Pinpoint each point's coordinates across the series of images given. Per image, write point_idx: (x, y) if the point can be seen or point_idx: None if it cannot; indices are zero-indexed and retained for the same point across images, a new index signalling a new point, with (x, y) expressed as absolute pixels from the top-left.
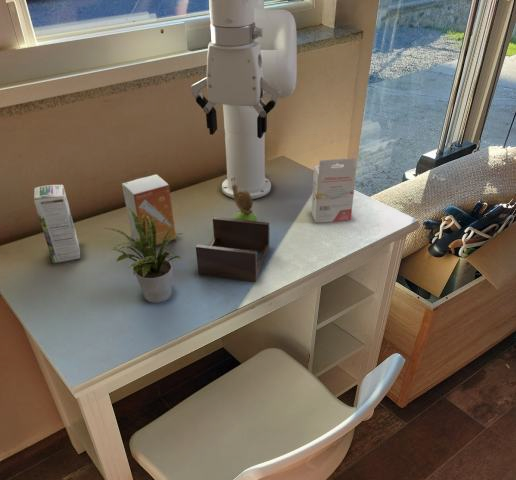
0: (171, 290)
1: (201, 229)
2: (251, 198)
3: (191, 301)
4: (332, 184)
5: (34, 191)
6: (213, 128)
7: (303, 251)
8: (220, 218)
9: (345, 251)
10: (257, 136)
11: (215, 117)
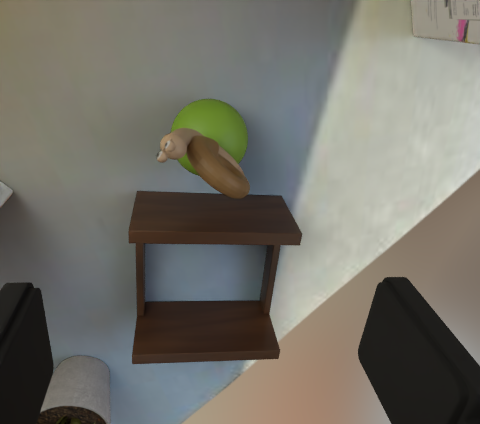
0: (108, 374)
1: (65, 124)
2: (248, 192)
3: (154, 375)
4: None
5: None
6: (41, 389)
7: (363, 188)
8: (153, 237)
9: (461, 172)
10: (360, 361)
11: (8, 392)
